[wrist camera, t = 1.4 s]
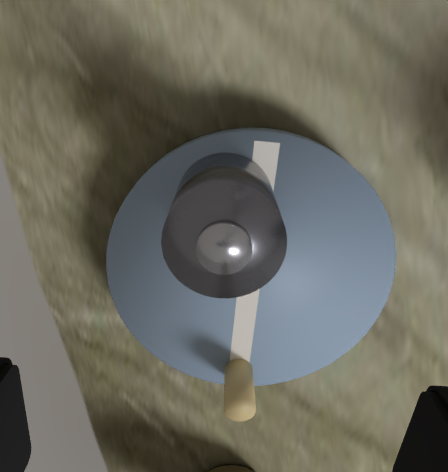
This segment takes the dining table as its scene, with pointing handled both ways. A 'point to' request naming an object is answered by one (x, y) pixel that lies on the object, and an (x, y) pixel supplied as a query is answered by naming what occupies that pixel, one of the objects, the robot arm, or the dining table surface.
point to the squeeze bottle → (231, 469)
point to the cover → (224, 228)
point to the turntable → (277, 289)
